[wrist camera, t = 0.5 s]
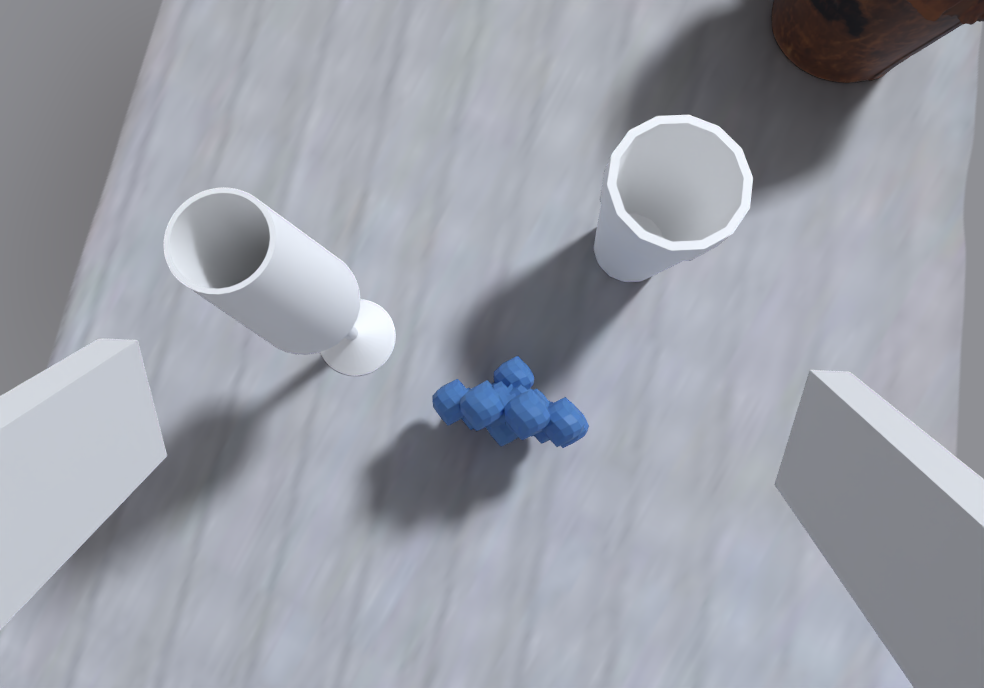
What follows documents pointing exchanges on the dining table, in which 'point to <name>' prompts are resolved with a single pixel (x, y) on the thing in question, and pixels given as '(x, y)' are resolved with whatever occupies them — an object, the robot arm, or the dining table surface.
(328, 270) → the champagne flute
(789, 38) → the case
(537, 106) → the dining table surface
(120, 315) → the dining table surface
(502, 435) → the grapes
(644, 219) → the foam cup
